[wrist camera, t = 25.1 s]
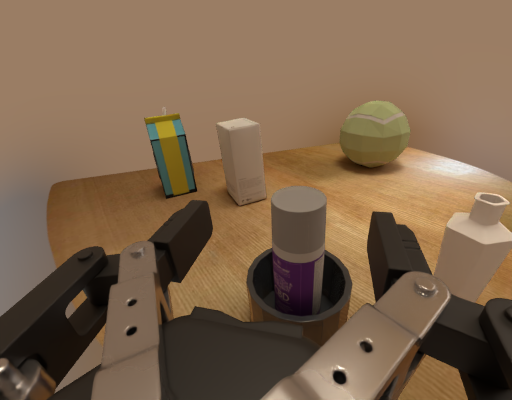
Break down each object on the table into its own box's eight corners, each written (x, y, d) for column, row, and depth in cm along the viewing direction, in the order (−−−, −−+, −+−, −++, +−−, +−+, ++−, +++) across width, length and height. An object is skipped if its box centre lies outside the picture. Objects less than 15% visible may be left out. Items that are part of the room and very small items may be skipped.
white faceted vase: (407, 301, 30) (444, 185, 22) (450, 305, 29) (502, 186, 22) (421, 338, 26) (471, 212, 19) (471, 344, 25) (544, 215, 18)
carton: (191, 179, 66) (176, 105, 57) (198, 190, 59) (181, 109, 51) (162, 185, 63) (141, 109, 55) (165, 198, 57) (142, 115, 48)
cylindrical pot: (366, 339, 26) (376, 291, 23) (280, 390, 23) (278, 343, 19) (308, 275, 34) (310, 233, 31) (238, 306, 31) (231, 262, 27)
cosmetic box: (267, 199, 53) (262, 123, 46) (237, 207, 51) (227, 129, 44) (251, 184, 60) (245, 116, 53) (225, 191, 58) (214, 121, 51)
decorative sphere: (413, 163, 64) (428, 99, 57) (380, 181, 57) (392, 111, 50) (360, 150, 75) (367, 96, 68) (326, 164, 68) (330, 105, 60)
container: (269, 328, 27) (259, 206, 20) (284, 295, 31) (281, 182, 24) (312, 345, 25) (320, 218, 18) (323, 307, 29) (333, 189, 22)
